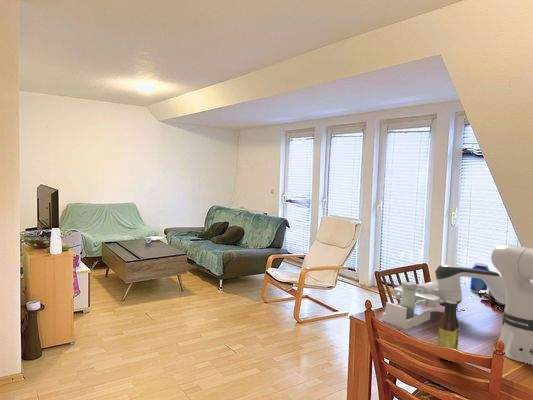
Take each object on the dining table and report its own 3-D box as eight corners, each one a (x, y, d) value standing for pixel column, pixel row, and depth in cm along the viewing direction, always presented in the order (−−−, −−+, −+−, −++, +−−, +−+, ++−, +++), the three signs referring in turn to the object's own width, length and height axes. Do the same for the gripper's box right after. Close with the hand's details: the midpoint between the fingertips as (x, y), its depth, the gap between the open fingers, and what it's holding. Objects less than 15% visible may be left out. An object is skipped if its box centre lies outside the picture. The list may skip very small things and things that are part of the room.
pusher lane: (429, 319, 172) (431, 300, 171) (406, 329, 159) (408, 309, 158) (406, 311, 180) (407, 293, 180) (382, 320, 167) (383, 301, 167)
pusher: (412, 322, 165) (413, 309, 164) (407, 324, 162) (409, 311, 162) (394, 316, 171) (395, 303, 170) (390, 317, 169) (391, 305, 168)
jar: (416, 319, 169) (419, 284, 169) (409, 322, 165) (412, 286, 165) (403, 315, 174) (406, 281, 173) (396, 318, 170) (399, 283, 169)
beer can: (487, 292, 221) (489, 264, 219) (486, 295, 214) (489, 267, 212) (470, 289, 225) (473, 261, 224) (469, 292, 218) (471, 264, 217)
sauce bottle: (458, 363, 132) (464, 306, 130) (439, 360, 133) (444, 304, 131) (453, 354, 138) (458, 300, 137) (434, 352, 139) (439, 298, 138)
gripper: (444, 308, 170) (429, 314, 161) (402, 295, 186) (386, 300, 177) (446, 293, 170) (431, 299, 161) (403, 282, 185) (387, 286, 176)
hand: (407, 299), depth 169 cm, fingers open, 8 cm apart
